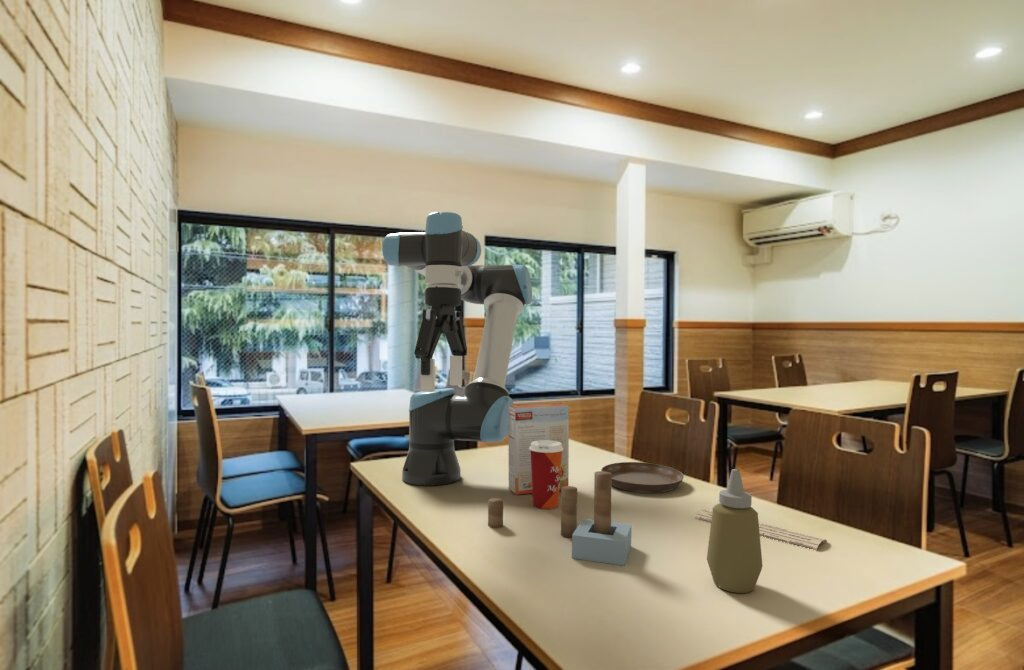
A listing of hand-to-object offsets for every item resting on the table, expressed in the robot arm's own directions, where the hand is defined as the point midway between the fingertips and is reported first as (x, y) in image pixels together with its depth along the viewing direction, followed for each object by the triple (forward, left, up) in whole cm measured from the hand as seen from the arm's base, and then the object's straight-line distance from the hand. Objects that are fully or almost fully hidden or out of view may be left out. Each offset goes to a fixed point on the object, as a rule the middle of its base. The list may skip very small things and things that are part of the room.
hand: (442, 388), depth 119 cm
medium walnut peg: (+2, +28, -27) cm, 39 cm away
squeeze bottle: (+14, +57, -27) cm, 65 cm away
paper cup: (-14, +19, -27) cm, 36 cm away
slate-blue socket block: (+8, +36, -27) cm, 45 cm away
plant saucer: (-40, +37, -27) cm, 61 cm away
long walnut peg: (+8, +36, -27) cm, 45 cm away
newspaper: (-14, +63, -28) cm, 70 cm away
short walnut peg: (+2, +13, -27) cm, 30 cm away
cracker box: (-25, +14, -27) cm, 39 cm away
